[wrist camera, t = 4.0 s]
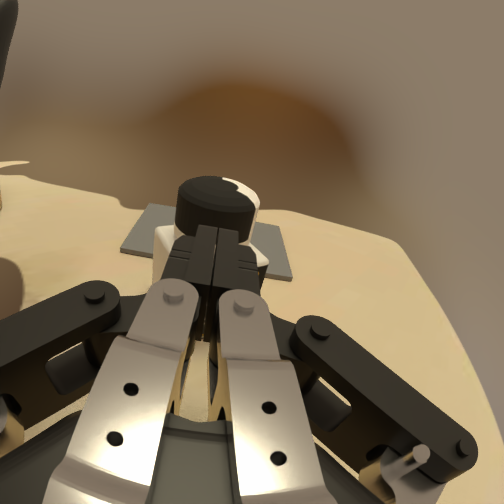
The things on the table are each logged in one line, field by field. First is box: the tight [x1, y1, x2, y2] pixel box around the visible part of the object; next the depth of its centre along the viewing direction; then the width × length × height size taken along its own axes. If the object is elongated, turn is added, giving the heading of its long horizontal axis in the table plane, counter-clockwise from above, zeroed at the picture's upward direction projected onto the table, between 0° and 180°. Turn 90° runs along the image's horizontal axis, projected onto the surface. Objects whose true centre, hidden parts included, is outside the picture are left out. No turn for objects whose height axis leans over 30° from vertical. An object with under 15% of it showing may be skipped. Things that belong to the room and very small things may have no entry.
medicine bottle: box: [152, 176, 269, 337], centre depth 23 cm, size 7×7×12 cm
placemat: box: [120, 203, 293, 281], centre depth 37 cm, size 20×13×1 cm, turn 93°
